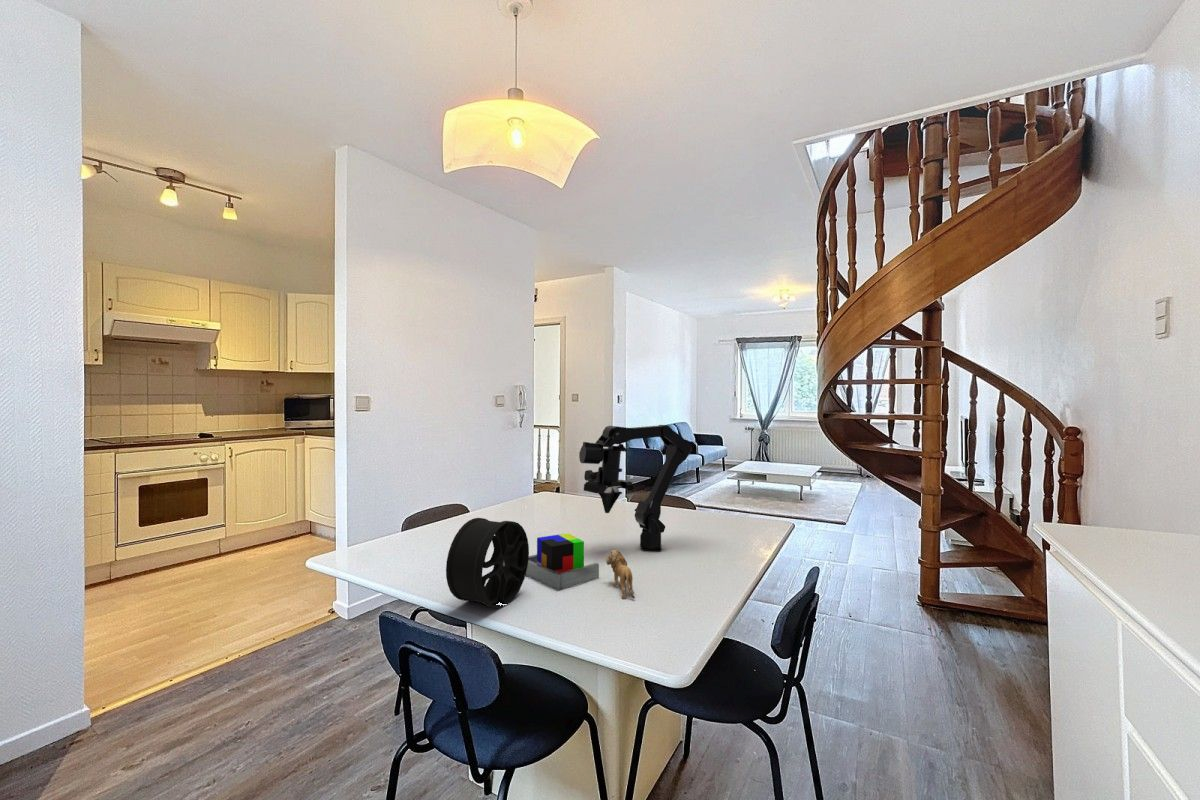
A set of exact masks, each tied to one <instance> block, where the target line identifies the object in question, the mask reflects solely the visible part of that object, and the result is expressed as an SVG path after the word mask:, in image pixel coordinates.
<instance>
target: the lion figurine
mask: <svg viewBox="0 0 1200 800" xmlns="http://www.w3.org/2000/svg"><path fill="white" fill-rule="evenodd" d="M604 560H605V562H606V565H607V566H609V565H610V568H612V572H613V573H614V574H613V575H614V578H613V579H614V584H613V585H612V587H614V588H618V587H619V584H620V587H621V590H622V591H621V592H622V595H621V597H620V598H621V599H626V598H627V594H626V593H627V592H626V589H625V586H627V587H626V588H627V591H628V594H629V596H630V598H631V599H636V597H635V595H634V593H635V592H634V590H633V589H634V588H633V580H634V579H633V572H632V571H631V568H629V566H628V562H627V560H626V558H625V557H624V555H623V553H622V552H620V551H619V550H616V549H613V550H611V551H610V554H608V556H607V557H605V558H604Z"/></svg>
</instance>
